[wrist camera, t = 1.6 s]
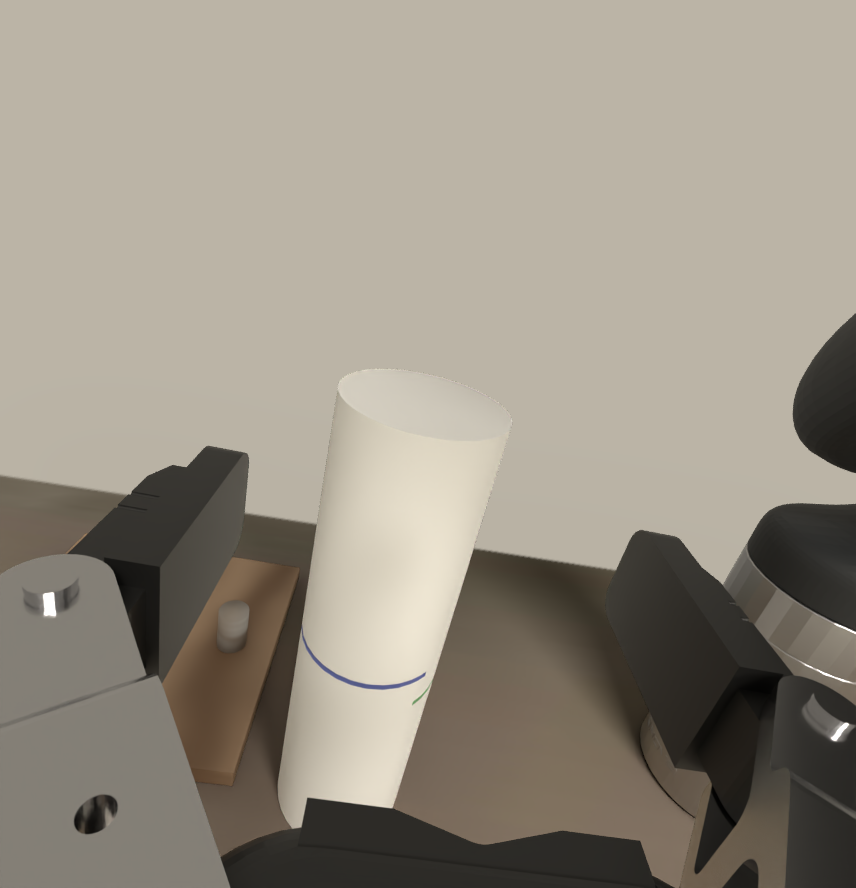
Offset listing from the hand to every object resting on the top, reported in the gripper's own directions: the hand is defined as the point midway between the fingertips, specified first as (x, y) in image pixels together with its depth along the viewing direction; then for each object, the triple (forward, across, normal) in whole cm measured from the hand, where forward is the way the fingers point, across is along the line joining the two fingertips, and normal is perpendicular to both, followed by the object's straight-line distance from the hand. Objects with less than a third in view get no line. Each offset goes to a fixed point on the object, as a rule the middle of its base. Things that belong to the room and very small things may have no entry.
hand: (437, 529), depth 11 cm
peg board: (+19, +15, +26) cm, 35 cm away
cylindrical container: (+11, 0, +26) cm, 29 cm away
